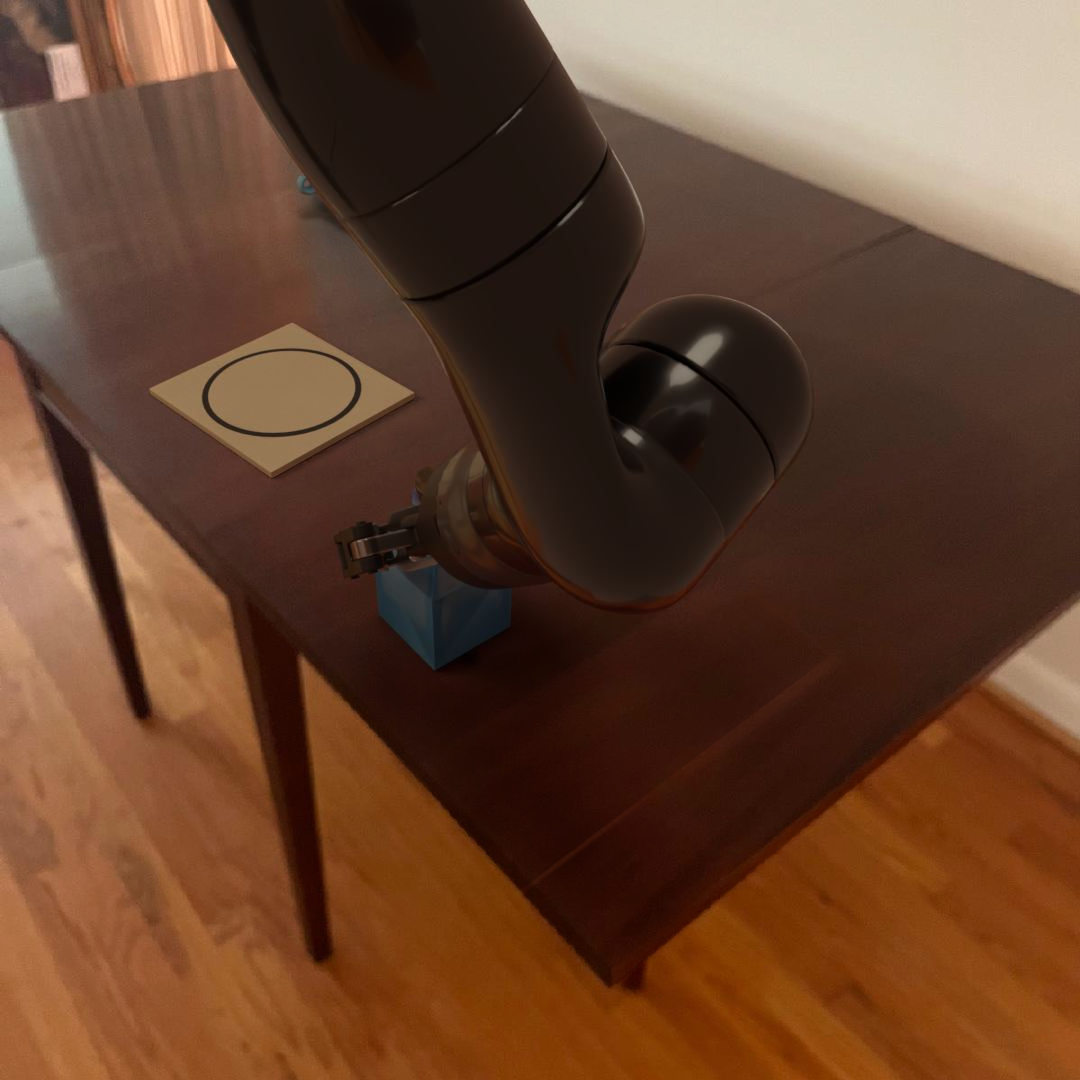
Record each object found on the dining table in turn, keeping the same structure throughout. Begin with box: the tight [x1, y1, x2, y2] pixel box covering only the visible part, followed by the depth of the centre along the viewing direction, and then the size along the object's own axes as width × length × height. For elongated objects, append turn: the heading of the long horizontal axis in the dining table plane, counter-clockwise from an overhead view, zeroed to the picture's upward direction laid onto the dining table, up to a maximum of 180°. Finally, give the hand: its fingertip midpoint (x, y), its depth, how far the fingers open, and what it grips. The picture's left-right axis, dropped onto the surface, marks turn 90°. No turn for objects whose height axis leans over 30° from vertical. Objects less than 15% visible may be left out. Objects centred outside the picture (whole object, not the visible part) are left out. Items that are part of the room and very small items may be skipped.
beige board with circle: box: [148, 322, 416, 479], centre depth 88 cm, size 15×16×1 cm
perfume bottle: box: [375, 462, 512, 671], centre depth 66 cm, size 6×6×12 cm
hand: (442, 534), depth 65 cm, fingers open, 8 cm apart
